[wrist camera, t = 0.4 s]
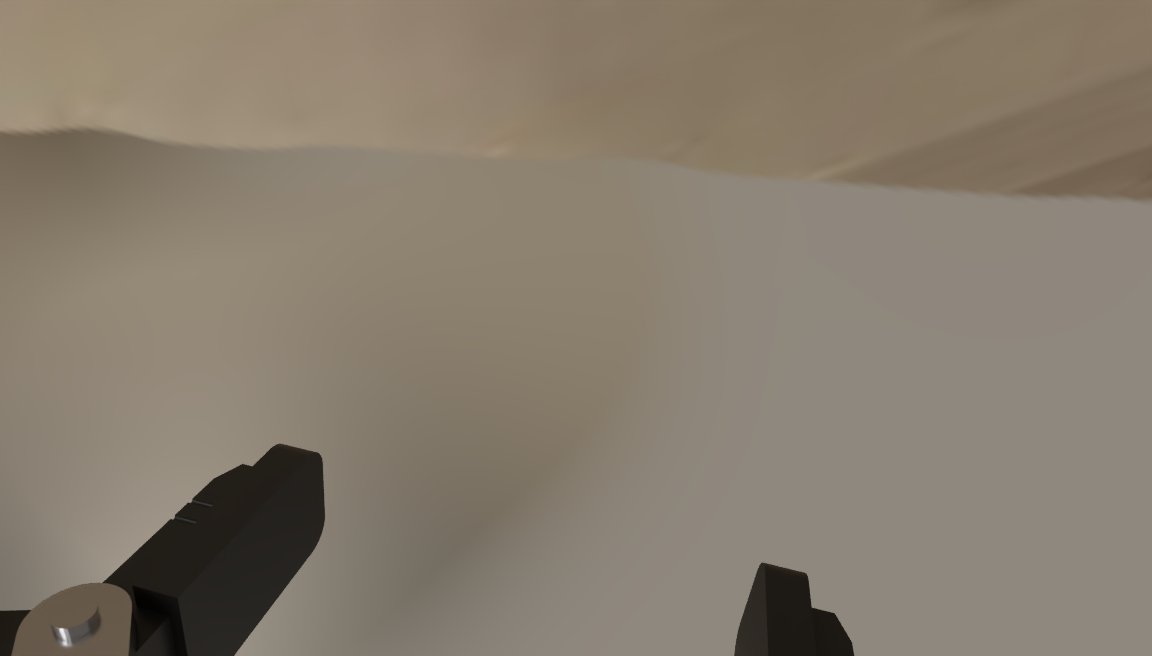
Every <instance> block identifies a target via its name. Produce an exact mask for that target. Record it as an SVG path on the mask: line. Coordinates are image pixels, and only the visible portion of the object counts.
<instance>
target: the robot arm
mask: <svg viewBox="0 0 1152 656" xmlns="http://www.w3.org/2000/svg"><path fill="white" fill-rule="evenodd" d="M323 485H324V484H323V463H322V458H321V455H320V454H319V453H317V452H313V451H308V450H304V449H300V448H296V447H292V446H288V445H284V444H277V445H275V446H273V447H272V448H271V449H270V450H269V451H268V452H267V453H266V454H265V455H264V456H263V457H262V458H261V459H260V460H259V461H258V462H257V463H256V464H255V465H254V466H253V467H252V466H248V465H244V464H242V465H240V466H238V467H236V468H234V469H232V470H230V471H228V472H226V473H224V474H222V475H220V476H218V477H216V478H214V479H213V480H212V481H211V482H210V483H209V484H208V485H207V486H206V487H204V488H203V489H202V490H201V491H200V492H199V493H198V494H197V495H196V496H195V497H194V498H193V500H192V502H191V503H187V504H186V505H185V506H184V507H183V508H182V509H181V510H180V511H179V512H178V513H177V514H176V515H175V518H174V519H173V520H172V519H170V520H169V521H168V522H167V523H166V524H165V525H164V526H163V527H162V528H161V529H160V530H159V531H157V532H156V533H155V534H154V535H153V536H152V537H151V538H150V539H149V540H148V541H147V542H146V543H145V544H144V545H143V546H142V547H140V548H139V549H138V550H137V551H136V552H135V553H134V554H133V555H132V556H131V557H130V558H129V559H128V560H127V561H126V562H124V563H123V564H122V565H121V566H120V567H119V568H118V569H117V570H116V571H115V572H114V573H113V574H112V575H111V576H109V577H108V578H107V579H106V580H105V581H104V582H103V583H89V584H82V585H78V586H74V587H71V588H68V589H65V590H63V591H60V592H58V593H56V594H54V595H52V596H50V597H49V598H47V599H45V600H44V601H42V602H41V603H40V604H38V605H37V606H36V607H35V608H33V609H32V610H17V611H0V656H234V655H235V654H236V652H237V651H238V649H239V648H240V647H241V646H242V644H243V643H244V642H245V640H246V639H247V638H248V636H249V635H250V634H251V632H252V631H253V630H254V628H255V627H256V626H257V625H258V623H259V622H260V621H261V619H262V618H263V616H264V615H265V614H266V613H267V611H268V610H269V609H270V607H271V606H272V605H273V603H274V602H275V601H276V599H277V598H278V597H279V595H280V594H281V593H282V592H283V590H284V589H285V588H286V586H287V585H288V584H289V582H290V581H291V579H292V578H293V577H294V576H295V574H296V573H297V572H298V570H299V569H300V568H301V566H302V565H303V564H304V562H305V561H306V559H307V558H308V557H309V556H310V555H311V553H312V552H313V550H314V549H315V547H316V545H317V543H318V541H319V539H320V536H321V534H322V530H323V527H324V521H325V507H324V486H323ZM734 656H854V652H853V646H852V642H851V640H850V638H849V637H848V635H847V633H846V632H845V630H844V628H843V627H842V625H841V623H840V622H839V620H838V618H837V617H836V615H835V614H834V613H831V612H827V611H823V610H818V609H815V608H812V607H811V599H810V589H809V581H808V576H807V574H806V573H803V572H799V571H795V570H791V569H787V568H783V567H778V566H775V565H771V564H767V563H761V564H760V566H759V568H758V570H757V574H756V577H755V580H754V583H753V586H752V589H751V592H750V595H749V598H748V601H747V604H746V607H745V610H744V613H743V616H742V619H741V622H740V626H739V630H738V634H737V639H736V646H735V654H734Z"/></svg>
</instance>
